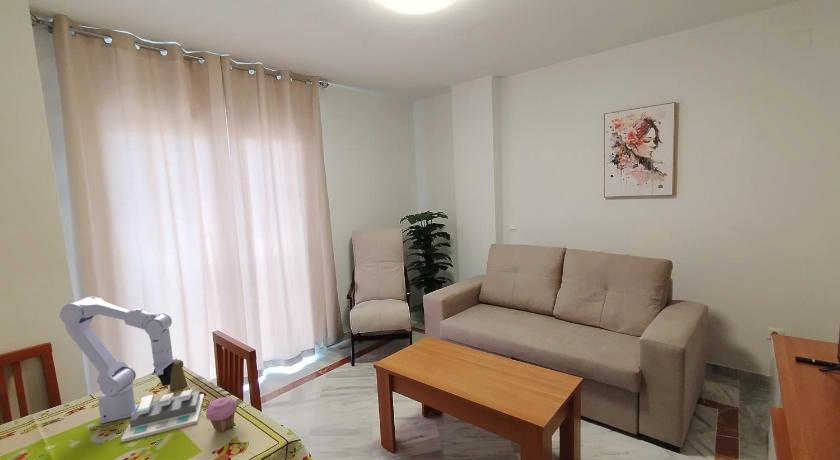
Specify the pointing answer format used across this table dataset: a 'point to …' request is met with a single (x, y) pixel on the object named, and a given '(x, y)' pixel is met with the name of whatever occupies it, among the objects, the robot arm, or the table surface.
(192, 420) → the switch board
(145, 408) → the left switch
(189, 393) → the right switch
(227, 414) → the cupcake
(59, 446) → the table surface
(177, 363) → the cork
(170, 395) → the middle switch
